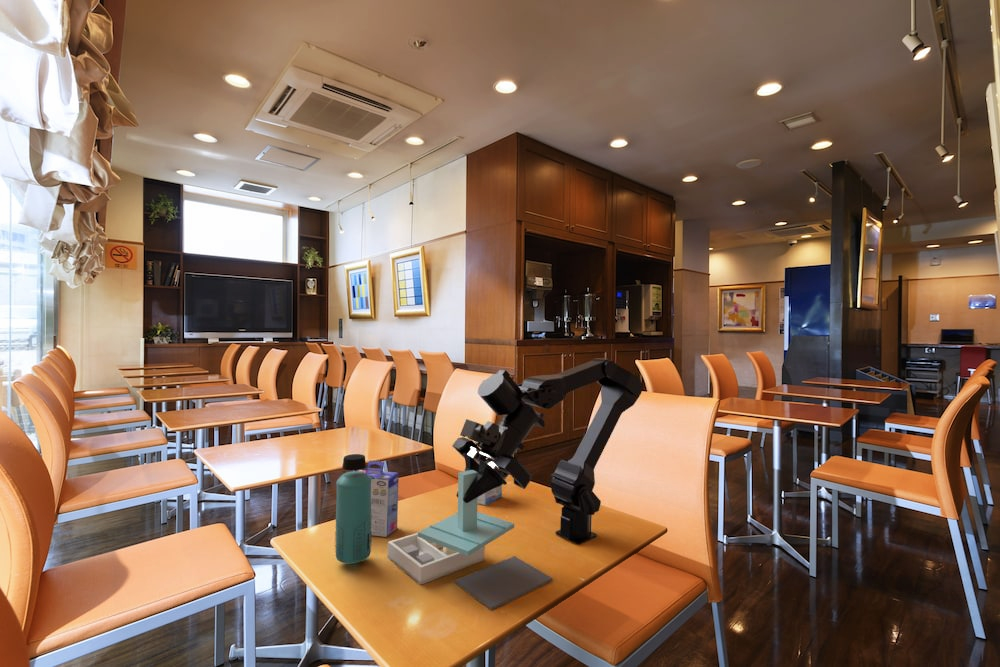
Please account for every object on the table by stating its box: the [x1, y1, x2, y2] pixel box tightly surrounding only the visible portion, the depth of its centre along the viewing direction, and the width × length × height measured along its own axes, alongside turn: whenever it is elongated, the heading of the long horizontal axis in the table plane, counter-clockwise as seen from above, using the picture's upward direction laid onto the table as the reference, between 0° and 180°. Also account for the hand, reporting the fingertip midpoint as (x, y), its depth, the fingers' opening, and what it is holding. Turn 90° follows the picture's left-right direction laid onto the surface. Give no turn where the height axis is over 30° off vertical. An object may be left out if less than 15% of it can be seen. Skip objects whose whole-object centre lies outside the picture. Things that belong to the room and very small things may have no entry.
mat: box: [454, 555, 554, 611], centre depth 81 cm, size 14×10×1 cm
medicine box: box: [477, 485, 503, 507], centre depth 120 cm, size 8×4×9 cm, turn 147°
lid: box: [417, 470, 515, 556], centre depth 84 cm, size 13×11×11 cm
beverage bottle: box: [334, 453, 373, 564], centre depth 86 cm, size 6×7×20 cm
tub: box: [387, 532, 486, 586], centre depth 88 cm, size 14×12×3 cm
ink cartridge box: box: [357, 460, 399, 538], centre depth 100 cm, size 10×6×14 cm, turn 78°
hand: (461, 499), depth 83 cm, fingers closed on lid
